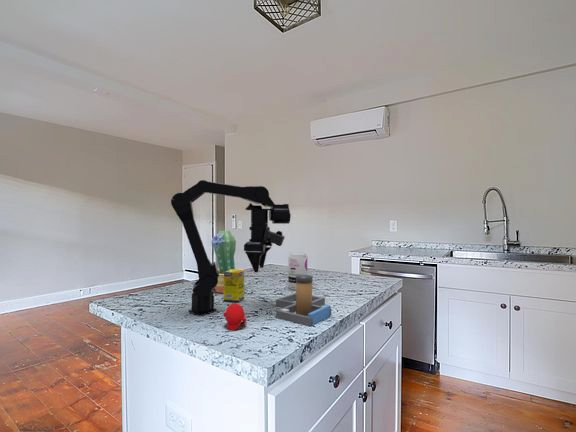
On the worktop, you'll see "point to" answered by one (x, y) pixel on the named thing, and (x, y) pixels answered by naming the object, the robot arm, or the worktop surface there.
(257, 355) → the worktop surface
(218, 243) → the potted cactus
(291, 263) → the supplement can
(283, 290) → the worktop surface
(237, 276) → the supplement box
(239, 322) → the red lumpy figurine
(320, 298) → the divided tray
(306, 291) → the vitamin jar
